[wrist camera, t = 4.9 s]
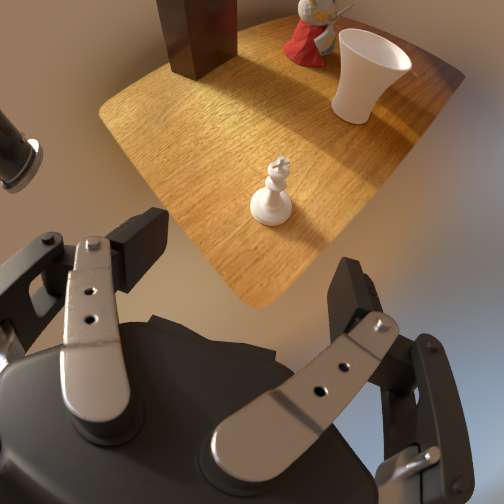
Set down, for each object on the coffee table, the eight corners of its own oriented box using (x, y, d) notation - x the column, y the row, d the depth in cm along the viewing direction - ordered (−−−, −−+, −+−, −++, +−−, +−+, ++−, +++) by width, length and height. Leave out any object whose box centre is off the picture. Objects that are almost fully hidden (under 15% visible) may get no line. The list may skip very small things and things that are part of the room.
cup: (308, 110, 37) (326, 40, 24) (333, 82, 39) (352, 23, 26) (368, 145, 35) (405, 81, 22) (385, 112, 38) (416, 56, 25)
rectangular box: (196, 81, 38) (181, -20, 19) (171, 71, 39) (152, -20, 20) (237, 54, 41) (237, -35, 22) (212, 46, 42) (206, -36, 23)
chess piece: (298, 217, 32) (319, 172, 22) (259, 231, 31) (266, 189, 21) (281, 183, 33) (293, 131, 23) (244, 196, 32) (244, 144, 23)
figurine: (337, 76, 40) (357, 12, 26) (277, 60, 41) (285, -6, 26) (341, 47, 43) (356, -5, 29) (290, 34, 44) (298, -20, 30)
